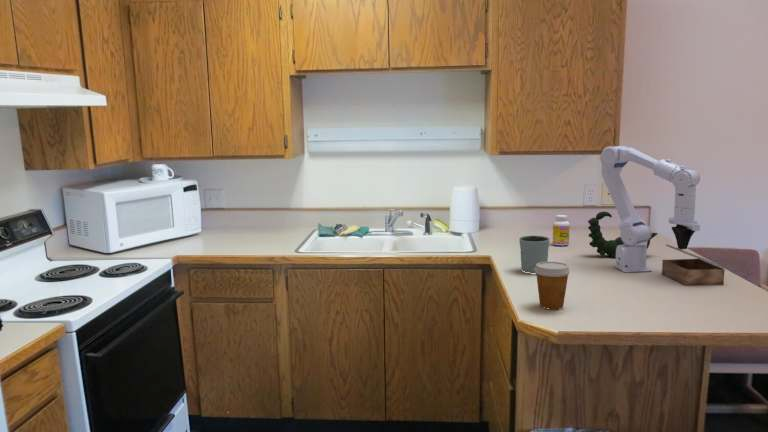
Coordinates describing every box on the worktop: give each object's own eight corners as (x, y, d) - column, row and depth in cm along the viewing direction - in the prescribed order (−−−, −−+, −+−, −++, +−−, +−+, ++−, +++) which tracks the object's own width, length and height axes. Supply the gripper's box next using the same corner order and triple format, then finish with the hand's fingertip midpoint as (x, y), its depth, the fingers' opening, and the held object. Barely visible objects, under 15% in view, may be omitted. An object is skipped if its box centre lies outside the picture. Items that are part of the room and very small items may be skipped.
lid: (689, 255, 166) (690, 253, 166) (665, 245, 179) (666, 243, 179) (724, 268, 166) (725, 266, 166) (697, 258, 180) (698, 256, 180)
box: (685, 285, 167) (685, 270, 166) (661, 273, 181) (662, 259, 180) (723, 284, 167) (724, 269, 166) (697, 272, 181) (698, 258, 180)
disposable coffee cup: (562, 300, 157) (562, 260, 155) (574, 311, 147) (575, 268, 145) (529, 301, 156) (530, 261, 154) (540, 312, 147) (540, 270, 145)
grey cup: (548, 268, 192) (549, 235, 191) (549, 276, 183) (549, 241, 181) (519, 267, 195) (519, 235, 193) (518, 274, 186) (519, 240, 184)
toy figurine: (595, 264, 203) (663, 257, 201) (591, 215, 200) (661, 207, 198) (587, 258, 213) (653, 251, 210) (584, 211, 210) (651, 204, 207)
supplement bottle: (558, 247, 225) (559, 217, 223) (549, 244, 232) (550, 215, 230) (572, 246, 227) (573, 216, 225) (563, 243, 233) (563, 214, 231)
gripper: (710, 210, 164) (708, 253, 166) (684, 203, 179) (682, 243, 181) (687, 210, 164) (685, 254, 166) (663, 204, 179) (661, 244, 181)
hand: (682, 248), depth 173 cm, fingers closed, pressing on lid
